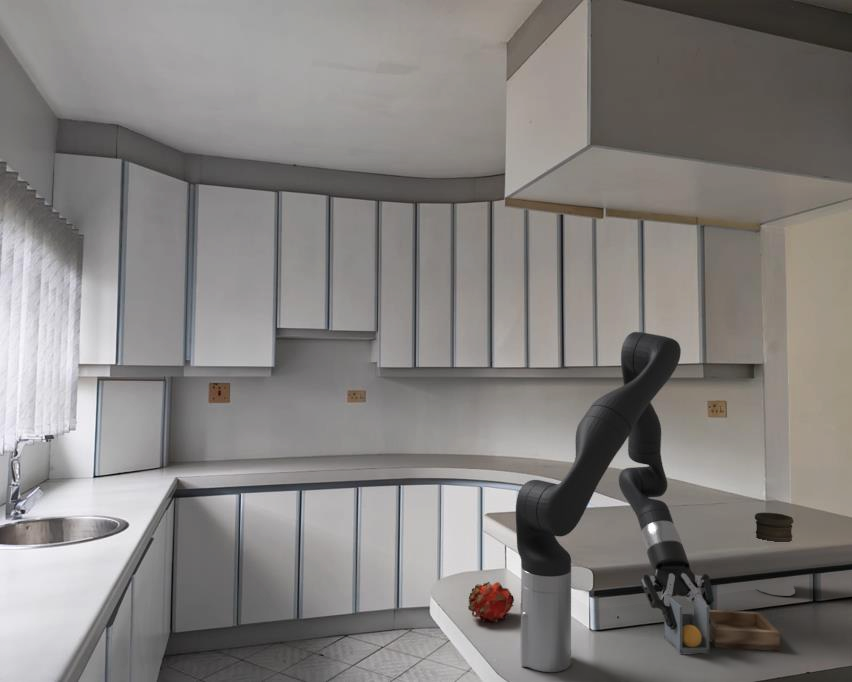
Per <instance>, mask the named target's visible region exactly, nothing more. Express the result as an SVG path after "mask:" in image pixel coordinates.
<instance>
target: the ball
mask: <svg viewBox="0 0 852 682" xmlns="http://www.w3.org/2000/svg"><path fill="white" fill-rule="evenodd" d="M701 640H702V636H701V633H700V631H699V629H698V628H696V627H695V626H693V625H685V626H683V627H682V642H683V643H684V644H685V645H686V646H688V647H696V646H698V645H699V644H700V643H701Z"/></svg>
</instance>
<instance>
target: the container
mask: <svg viewBox="0 0 852 682" xmlns="http://www.w3.org/2000/svg"><path fill="white" fill-rule="evenodd" d="M754 519H755V524H756V529H755V530H756V531H755V533H756V534H755V537H756V538H758V539H762V540H767V541H774V542H790V541H792V542H793V534H792V529H793V523H794V518H793V517H792V516H789V515H787V514H783V513H777V512H776V513H775V512H757V513H755V514H754Z"/></svg>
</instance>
